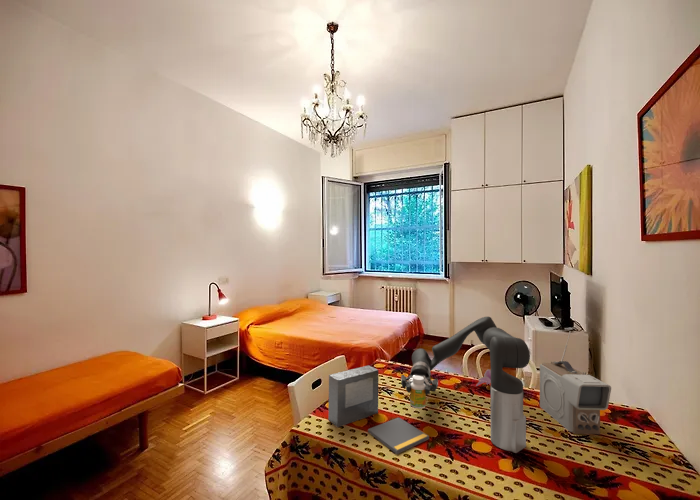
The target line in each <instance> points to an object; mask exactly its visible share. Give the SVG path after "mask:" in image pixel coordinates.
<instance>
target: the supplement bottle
mask: <svg viewBox="0 0 700 500" xmlns="http://www.w3.org/2000/svg"><path fill="white" fill-rule="evenodd" d="M412 381H413V382H412V383H411V385H410V393H409V403H410V406H411V407H412V408H414V409H419V410H420V409H425V407H426V405H427V399H426V398H427V395H426V385H425V384H424V378H423V377H422V376H413V378H412Z"/></svg>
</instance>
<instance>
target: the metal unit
mask: <svg viewBox="0 0 700 500" xmlns="http://www.w3.org/2000/svg"><path fill="white" fill-rule="evenodd" d="M377 414H379V369H377V368H375V367H374V366H371V365H369V364H368V365H363V366H360V367H356V368H352V369H348V370H347V369H346V370H343V371H339V372H335V373H331V374H330V373H329V374H328V417H327V418H328V421H329V422H330V423H331V424H333V425H334V426H335V427H336V428H340V427H343V426H346V425H348V424H351V423H354V422H357V421H359V420H363V419H365V418H369V417H371V416H373V415H377Z"/></svg>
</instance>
